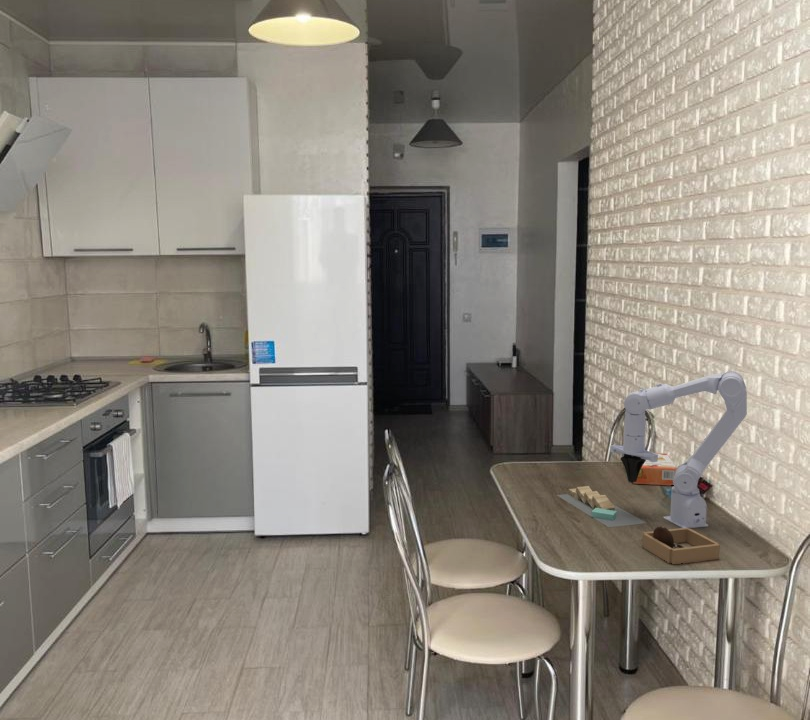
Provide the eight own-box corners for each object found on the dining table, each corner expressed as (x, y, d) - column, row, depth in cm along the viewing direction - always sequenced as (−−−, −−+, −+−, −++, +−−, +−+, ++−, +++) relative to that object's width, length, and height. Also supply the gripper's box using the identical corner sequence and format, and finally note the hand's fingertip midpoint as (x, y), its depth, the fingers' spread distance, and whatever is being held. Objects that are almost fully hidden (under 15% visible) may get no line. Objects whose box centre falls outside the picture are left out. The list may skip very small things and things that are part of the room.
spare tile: (616, 511, 222) (595, 507, 225) (613, 515, 218) (591, 511, 221) (616, 516, 222) (595, 513, 225) (612, 520, 218) (591, 517, 221)
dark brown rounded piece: (692, 554, 196) (694, 525, 195) (669, 559, 192) (670, 530, 191) (668, 543, 203) (669, 516, 202) (645, 548, 199) (646, 521, 198)
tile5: (590, 493, 238) (580, 488, 244) (578, 494, 237) (568, 489, 242) (589, 498, 238) (579, 493, 244) (578, 499, 237) (568, 494, 243)
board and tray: (720, 558, 192) (721, 544, 192) (667, 565, 188) (668, 551, 188) (599, 492, 246) (600, 481, 245) (556, 496, 242) (556, 485, 241)
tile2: (615, 507, 225) (605, 494, 230) (602, 509, 224) (592, 495, 229) (613, 512, 226) (603, 499, 231) (601, 513, 224) (591, 500, 229)
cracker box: (633, 466, 254) (624, 451, 275) (632, 484, 255) (624, 467, 275) (678, 467, 252) (666, 452, 273) (677, 486, 253) (665, 469, 273)
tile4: (597, 498, 234) (588, 486, 239) (586, 499, 232) (576, 487, 237) (596, 502, 234) (587, 490, 239) (584, 503, 233) (575, 491, 238)
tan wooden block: (606, 503, 229) (596, 491, 234) (594, 504, 228) (584, 492, 233) (605, 507, 230) (595, 495, 235) (593, 509, 228) (583, 496, 234)
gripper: (665, 437, 218) (663, 485, 220) (622, 428, 229) (620, 473, 231) (649, 440, 214) (647, 489, 215) (606, 431, 225) (604, 477, 227)
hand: (632, 481), depth 223 cm, fingers closed
